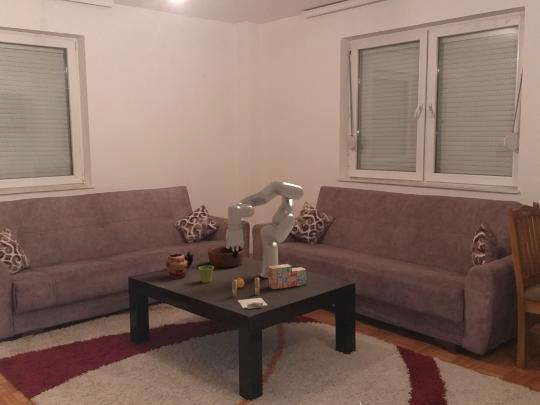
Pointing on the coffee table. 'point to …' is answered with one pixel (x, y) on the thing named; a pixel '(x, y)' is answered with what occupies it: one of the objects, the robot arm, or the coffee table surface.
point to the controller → (188, 259)
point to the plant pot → (206, 273)
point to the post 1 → (234, 288)
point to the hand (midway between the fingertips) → (234, 257)
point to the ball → (240, 282)
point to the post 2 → (257, 286)
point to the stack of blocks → (286, 276)
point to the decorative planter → (176, 265)
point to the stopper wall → (255, 305)
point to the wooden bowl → (225, 257)
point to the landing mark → (244, 302)
